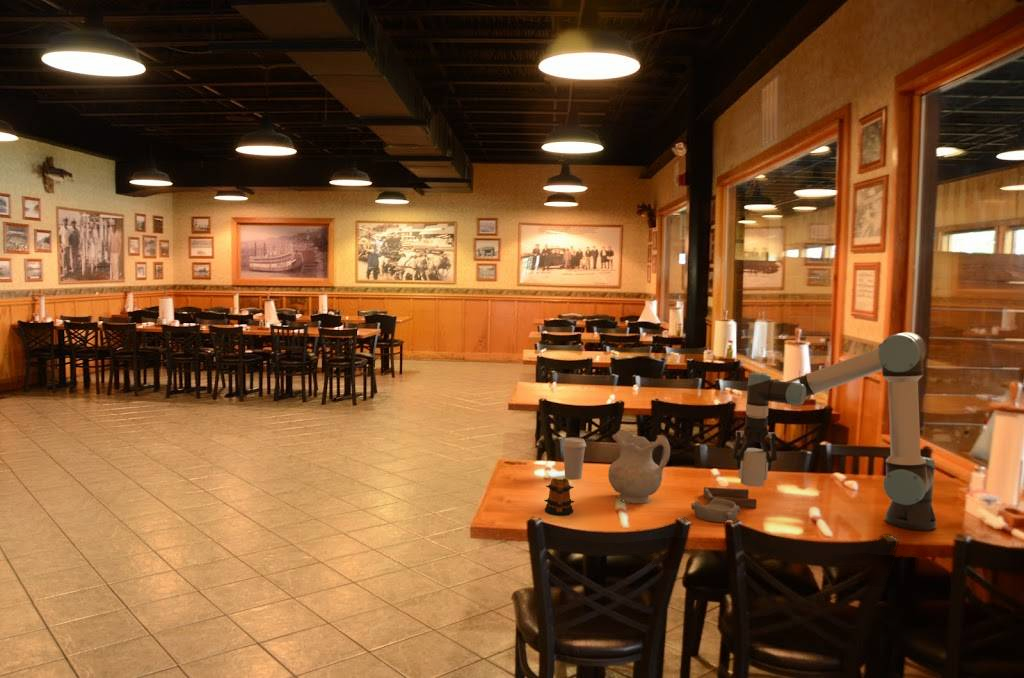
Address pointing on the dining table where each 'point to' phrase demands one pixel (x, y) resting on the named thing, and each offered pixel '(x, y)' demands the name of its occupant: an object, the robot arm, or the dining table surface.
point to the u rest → (729, 492)
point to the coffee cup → (573, 457)
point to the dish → (716, 510)
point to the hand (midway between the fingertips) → (752, 478)
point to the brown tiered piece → (559, 498)
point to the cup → (753, 467)
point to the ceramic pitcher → (637, 467)
